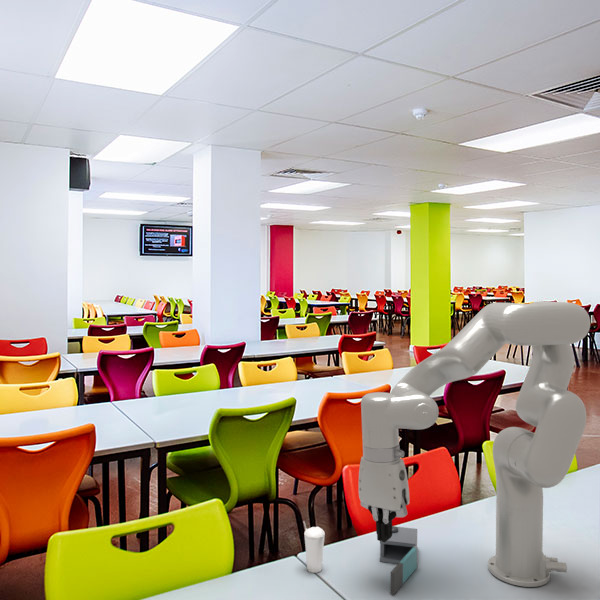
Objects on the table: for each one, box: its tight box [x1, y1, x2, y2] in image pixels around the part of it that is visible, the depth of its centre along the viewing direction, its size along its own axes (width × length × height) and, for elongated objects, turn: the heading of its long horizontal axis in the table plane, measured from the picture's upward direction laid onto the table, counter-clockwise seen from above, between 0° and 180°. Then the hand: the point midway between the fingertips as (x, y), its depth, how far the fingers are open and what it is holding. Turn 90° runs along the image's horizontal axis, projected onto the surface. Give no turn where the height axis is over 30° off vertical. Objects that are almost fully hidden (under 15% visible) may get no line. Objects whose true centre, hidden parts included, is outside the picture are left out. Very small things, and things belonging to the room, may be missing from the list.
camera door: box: [389, 545, 419, 595], centre depth 117 cm, size 14×1×4 cm, turn 147°
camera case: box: [379, 525, 418, 565], centre depth 128 cm, size 8×8×6 cm
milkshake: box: [302, 520, 326, 574], centre depth 122 cm, size 4×5×10 cm
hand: (384, 538), depth 115 cm, fingers closed
